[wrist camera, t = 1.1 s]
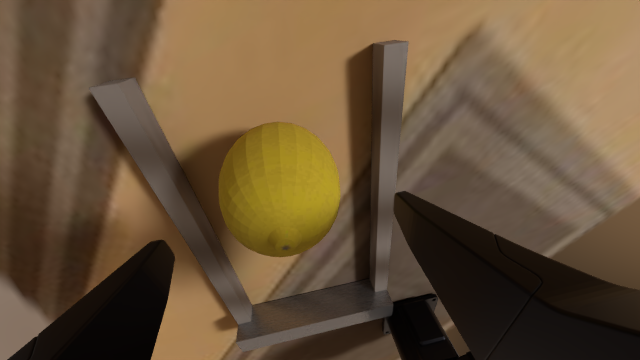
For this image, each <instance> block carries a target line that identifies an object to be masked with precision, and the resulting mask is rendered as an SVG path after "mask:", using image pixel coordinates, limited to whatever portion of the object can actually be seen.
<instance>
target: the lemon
mask: <svg viewBox="0 0 640 360" xmlns="http://www.w3.org/2000/svg"><path fill="white" fill-rule="evenodd" d="M339 203H340V184H339V176H338V170H337V167H336V165H335V163H334V160H333V158H332V156H331V154H330V152H329V150H328V149H327V148H326V146H325V145H324V144H323V143H322V142H321V140H320V139H319V138H318V137H317V136H315V135H314V134H312V133H311V132H309V131H308V130H307V129H305V128H303V127H300V126H297V125H295V124H292V123H284V122H274V123H266V124H263V125H260V126H258V127H255V128H253V129H251V130H249V131H248V132H246V133H245V134H244V135H242V136H241V137H240V138H239V139H238V140H237V141H236V142H235V144H234V145H233V146H232V148H231V149H230V150H229V152H228V153H227V155H226V157H225V160H224V163H223V165H222V168H221V171H220V175H219V205H220V209H221V212H222V215H223V218H224V221H225V223H226V226H227V227H228V229H229V230H230V231H231V233H232V234H233V236H234V237H235V238H236V239H237V240H238V241H239V242H240V243H242V244H243V245H244V246H245V247H247V248H248V249H250V250H252V251H255V252H257V253H259V254H263V255H267V256H271V257H286V256H292V255H296V254H299V253H302V252H304V251H306V250H308V249H310V248H312V247H313V246H314V245H316V244H317V243H318V242H320V241H321V240H322V239H323V237H324V236H325V235H326V234H327V233H328V232H329V230H330V229H331V227H332V225H333V223H334V221H335V219H336V217H337V213H338V208H339Z"/></svg>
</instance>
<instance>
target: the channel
mask: <svg viewBox="0 0 640 360" xmlns="http://www.w3.org/2000/svg"><path fill="white" fill-rule="evenodd" d="M407 52H408V42H407V41H397V40H393V41H386V42H379V43H373V79H372V148H371V218H370V279H366V280H361V281H357V282H353V283H348V284H344V285H340V286H335V287H331V288H327V289H322V290H318V291H313V292H309V293H305V294H300V295H296V296H292V297H287V298H283V299H279V300H274V301H270V302H266V303H261V304H257V305H252V304H251V302H250V300H249V298H248V296H247V295H246V293H245V291H244V289H243V287H242V285H241V283H240V281H239V279H238V277H237V275H236V273H235V271H234V269H233V267H232V265H231V263H230V261H229V260H228V258H227V256H226V254H225V252H224V250H223V248H222V246H221V244H220V242H219V240H218V238H217V236H216V234H215V232H214V230H213V228H212V227H211V225H210V223H209V221H208V219H207V217H206V215H205V213H204V211H203V209H202V207H201V205H200V203H199V201H198V199H197V197H196V195H195V194H194V192H193V190H192V188H191V186H190V184H189V182H188V180H187V178H186V176H185V174H184V172H183V170H182V168H181V166H180V164H179V162H178V161H177V159H176V157H175V155H174V153H173V151H172V149H171V147H170V145H169V143H168V141H167V139H166V137H165V135H164V133H163V131H162V129H161V128H160V126H159V124H158V122H157V120H156V118H155V116H154V114H153V112H152V110H151V108H150V106H149V104H148V102H147V100H146V98H145V96H144V95H143V93H142V91H141V89H140V87H139V85H138V83H137V81H136V79H135V78H128V79H121V80H114V81H108V82H105V83H102V84H99V85H96V86H93V87H90V88H89V90H90V91H91V93H92V94H93V96H94V97H95V99H96V101H97V102H98V104H99V105H100V107H101V109H102V110H103V112H104V113H105V115H106V116H107V118H108V120H109V121H110V123H111V124H112V126H113V128H114V129H115V131H116V132H117V134H118V135H119V137H120V139H121V140H122V142H123V143H124V145H125V146H126V148H127V150H128V151H129V153H130V154H131V156H132V158H133V159H134V161H135V162H136V164H137V165H138V167H139V169H140V170H141V172H142V173H143V175H144V177H145V178H146V180H147V181H148V183H149V184H150V186H151V188H152V189H153V191H154V192H155V194H156V195H157V197H158V199H159V200H160V202H161V203H162V205H163V207H164V208H165V210H166V211H167V213H168V214H169V216H170V218H171V219H172V221H173V222H174V224H175V225H176V227H177V229H178V230H179V232H180V233H181V235H182V237H183V238H184V240H185V241H186V243H187V244H188V246H189V248H190V249H191V251H192V252H193V254H194V256H195V257H196V259H197V260H198V262H199V263H200V265H201V267H202V268H203V270H204V271H205V273H206V274H207V276H208V278H209V279H210V281H211V282H212V284H213V286H214V287H215V289H216V290H217V292H218V293H219V295H220V297H221V298H222V300H223V301H224V303H225V305H226V306H227V308H228V309H229V311H230V312H231V314H232V316H233V317H234V319H235V320H236V322H237V323H238V330H237V339H236V343H237V344H238V346H239V347H240V349H241V350H242V351H243V352H244V351H248V350H253V349H257V348H261V347H265V346H269V345H273V344H277V343H281V342H285V341H289V340H293V339H297V338H302V337H306V336H310V335H314V334H318V333H322V332H326V331H330V330H334V329H338V328H342V327H346V326H351V325H355V324H359V323H363V322H367V321H371V320H375V319H379V318H383V317H387V316H391V315H392V312H393V302H392V300H391V298H390V296H389V293H388V291H387V281H388V270H389V258H390V247H391V235H392V224H393V212H394V211H393V205H394V195H395V189H396V178H397V167H398V155H399V144H400V132H401V121H402V109H403V98H404V86H405V75H406V64H407Z"/></svg>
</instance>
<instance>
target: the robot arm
mask: <svg viewBox="0 0 640 360" xmlns="http://www.w3.org/2000/svg"><path fill="white" fill-rule="evenodd" d="M393 211H394V214H395V217H396V219H397V221H398V223H399V226H400V228H401V230H402V232H403V235H404V237H405V239H406V241H407V243H408V245H409V247H410V249H411V251H412V253H413V254H414V256H415V258H416V259H417V261H418V263H419V265H420V266H421V268H422V270H423V271H424V273H425V275H426V276H427V278H428V280H429V282H430V283H431V285H432V287H433V288H434V290H435V292H436V293H437V295H438V297H439V299H440V300H441V302H442V304H443V305H444V307H445V309H446V310H447V312H448V314H449V316H450V317H451V319H452V321H453V322H454V324H455V326H456V327H457V329H458V331H459V333H460V334H461V336H462V338H463V339H464V341H465V343H466V344H467V346H468V348H469V350H470V351H469V352H467V353H466V354H465V355H463V356H460V357H459V356H458V354H457V352H456V350H455V349H454V347H453V345H452V343H451V342H450V340H449V338H448V337H447V335H446V333H445V331H444V329H443V328H442V326H441V324H440V322H439V321H438V319H437V317H436V315H435V314H434V310H435V307H436V304H437V301H438V297H437V296H436V294H432V295H428V296H424V297H420V298H415V299H411V300H407V301H403V302H399V303H395V304H393V312H392V315H391V316H387V317H383V328H382V331H383V333H384V334H390V333H391V334H392V336H393V339H394V342H395V344H396V347H397V349H398V352H399V354H400V357H401V359H402V360H640V290H637V289H632V288H628V287H624V286H620V285H616V284H613V283H610V282H607V281H605V280H602V279H599V278H597V277H594V276H592V275H589V274H587V273H584V272H582V271H580V270H577V269H575V268H572V267H570V266H567V265H565V264H562V263H560V262H558V261H555V260H553V259H550V258H548V257H545V256H543V255H541V254H538V253H536V252H534V251H531V250H529V249H527V248H524V247H522V246H520V245H518V244H516V243H513V242H511V241H509V240H507V239H505V238H503V237H501V236H499V235H496V234H493V233H492V232H490V231H488V230H486V229H484V228H482V227H480V226H477V225H475V224H473V223H471V222H469V221H467V220H465V219H463V218H461V217H459V216H457V215H455V214H452V213H450V212H448V211H446V210H444V209H442V208H440V207H438V206H436V205H434V204H432V203H429V202H427V201H425V200H423V199H421V198H419V197H417V196H415V195H413V194H411V193H409V192H406V191H402V192H397V193H395V195H394V205H393ZM174 261H175V256H174V253H173V252H172V250H171V249H170V247H169V246H168V245H167V243H166V242H165V241H164V240H156V241H152V242H150V243H148V244H147V245H146V246H145V247H143V248H142V249H141V250H140V251H139V252H137V253H136V254H135V255H134V256H132V257H131V258H130V259H129V260H128V261H126V262H125V263H124V264H123V265H122V266H120V267H119V268H118V269H117V270H116V271H114V272H113V273H112V274H111V275H109V276H108V277H107V278H106V279H105V280H103V281H102V282H101V283H100V284H99V285H97V286H96V287H95V288H94V289H93V290H91V291H90V292H89V293H88V294H87V295H85V296H84V297H83V298H82V299H80V300H79V301H78V302H77V303H76V304H74V305H73V306H72V307H71V308H70V309H68V310H67V311H66V312H65V313H64V314H62V315H61V316H60V317H59V318H57V319H56V320H55V321H54V322H53V323H51V324H50V325H49V326H48V327H47V328H46V329H44V330H43V331H42V332H41V333H39V335H38V336H37V337H34V338H33V339H32V340H31V341H30V342H28V343H27V344H26V345H25V346H24V347H22V348H21V349H20V350H19V351H18V352H16V353H15V354H14V355H13V356H11V357H10V358H9V359H8V360H151V357H152V353H153V350H154V346H155V343H156V339H157V336H158V332H159V329H160V325H161V322H162V318H163V315H164V311H165V308H166V304H167V300H168V296H169V290H170V284H171V279H172V273H173V267H174Z"/></svg>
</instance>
